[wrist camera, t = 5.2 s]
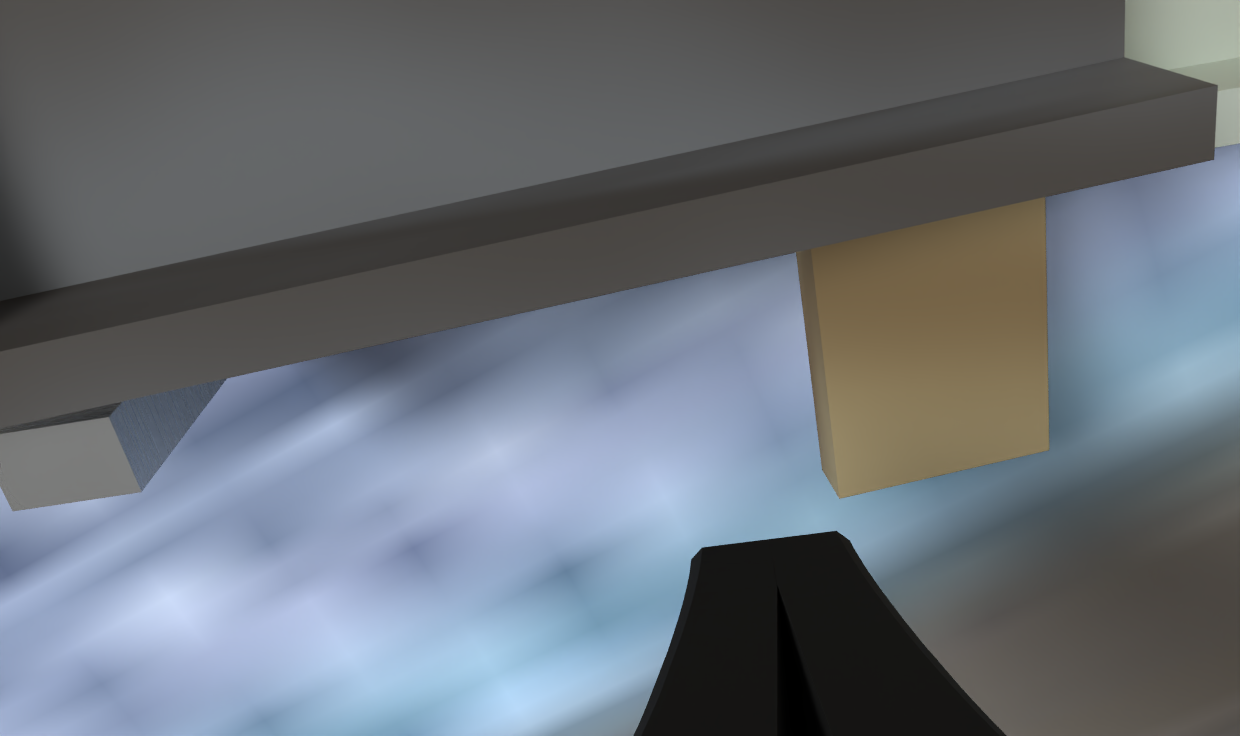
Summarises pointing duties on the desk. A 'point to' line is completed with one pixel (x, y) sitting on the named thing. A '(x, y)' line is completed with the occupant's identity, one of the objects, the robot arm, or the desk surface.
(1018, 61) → the chute lever
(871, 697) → the robot arm
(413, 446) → the desk surface
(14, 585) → the desk surface
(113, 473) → the chute stand
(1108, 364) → the desk surface
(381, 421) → the desk surface
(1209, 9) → the tray
